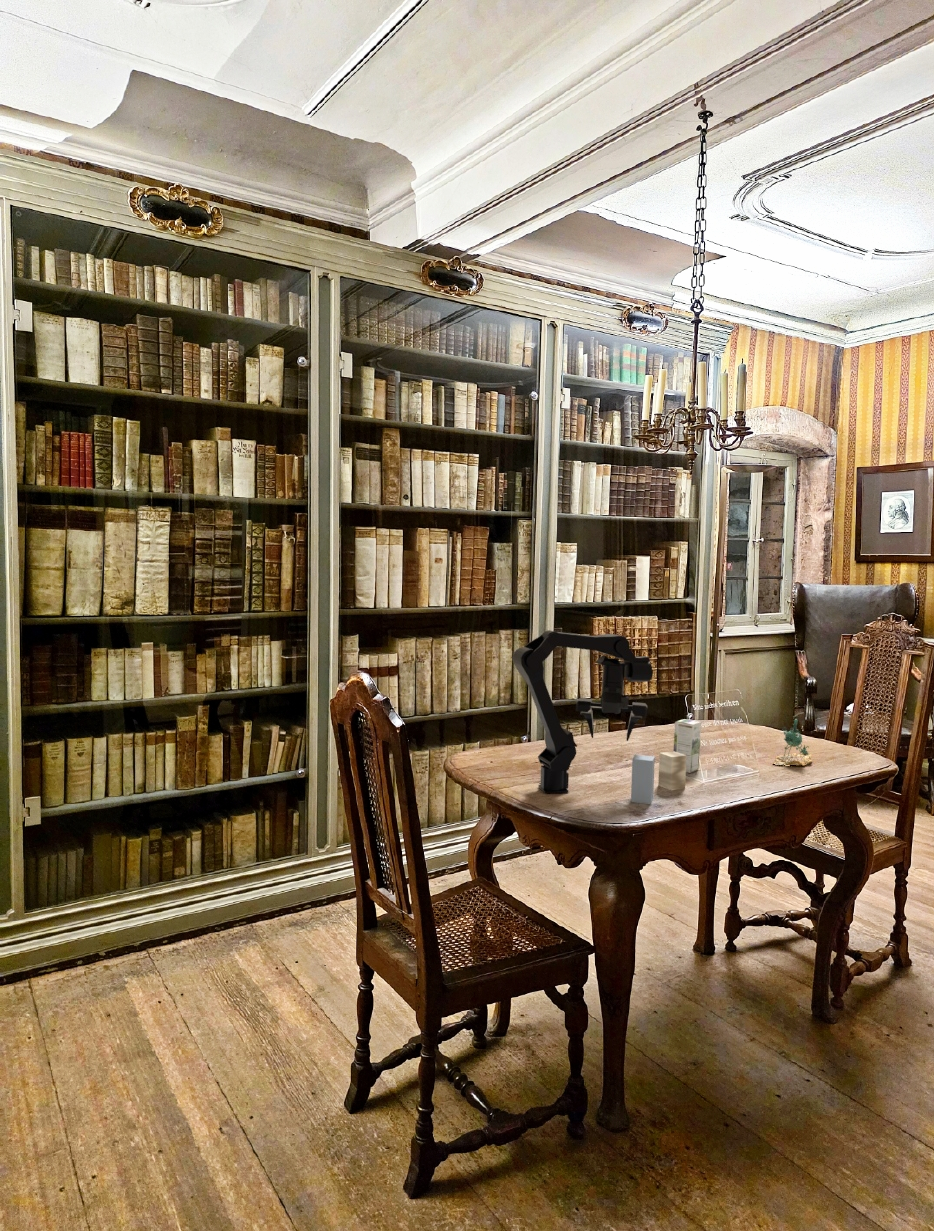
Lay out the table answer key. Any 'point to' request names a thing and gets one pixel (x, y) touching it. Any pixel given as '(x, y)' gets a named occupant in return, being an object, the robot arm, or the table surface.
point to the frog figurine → (795, 740)
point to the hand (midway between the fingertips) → (609, 739)
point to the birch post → (672, 770)
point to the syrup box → (688, 742)
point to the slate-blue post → (642, 779)
